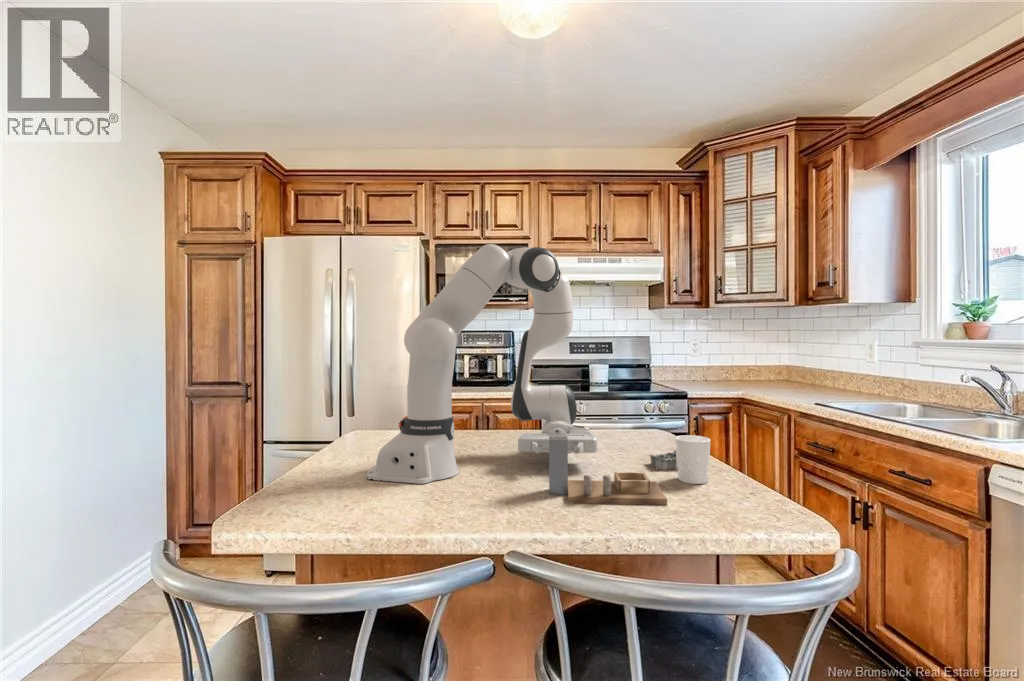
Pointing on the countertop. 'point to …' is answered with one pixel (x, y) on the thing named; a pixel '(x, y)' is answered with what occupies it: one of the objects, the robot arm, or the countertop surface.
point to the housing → (616, 490)
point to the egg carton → (664, 461)
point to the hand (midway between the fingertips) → (557, 450)
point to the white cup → (692, 458)
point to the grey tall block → (558, 465)
